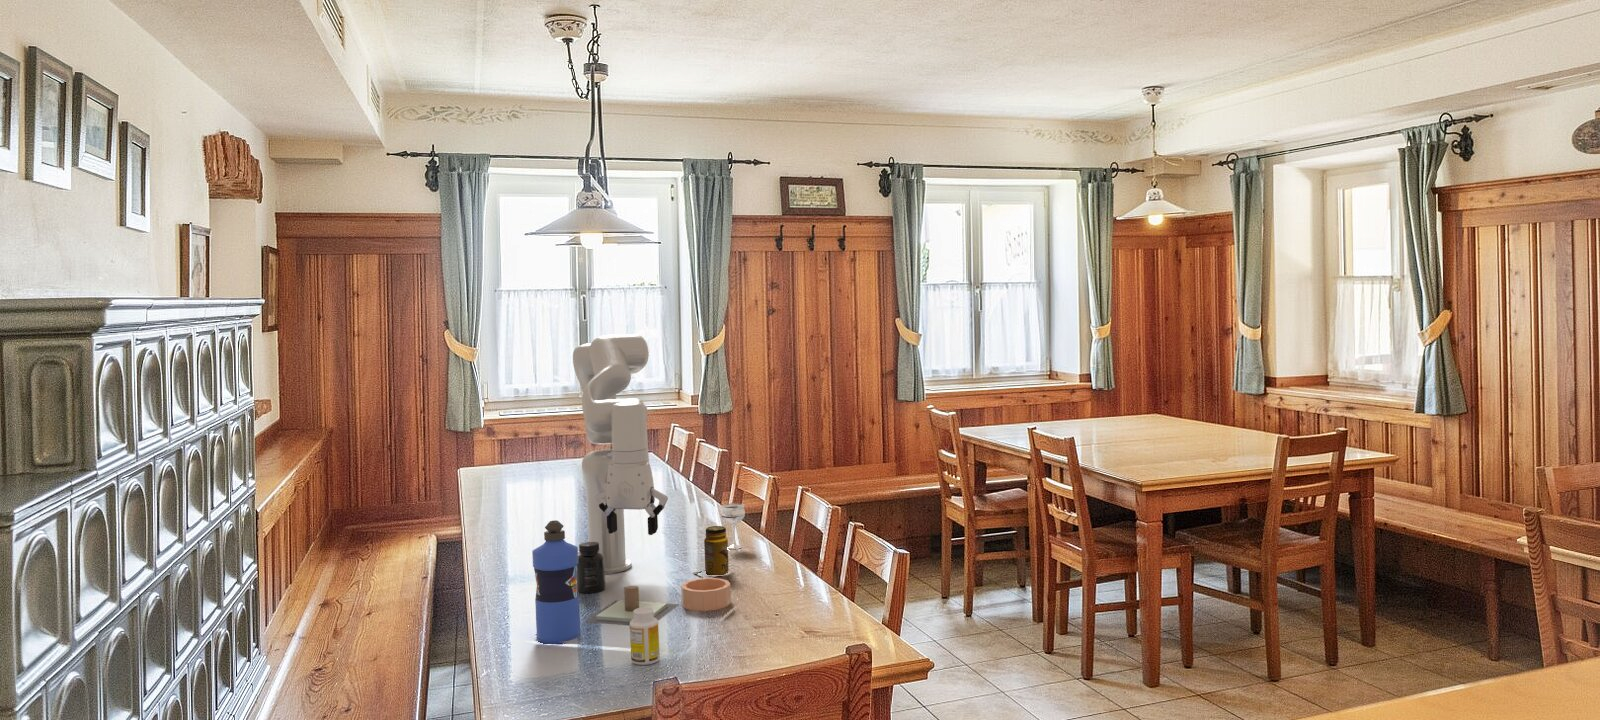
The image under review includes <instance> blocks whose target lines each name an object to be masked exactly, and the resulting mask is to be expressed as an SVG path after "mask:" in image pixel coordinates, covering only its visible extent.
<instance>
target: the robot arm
mask: <svg viewBox="0 0 1600 720" xmlns="http://www.w3.org/2000/svg"><path fill="white" fill-rule="evenodd" d="M649 356H650V355H649V347H648V344H647V341H646V340H645V338H644V337H643V336H642V335H641V334H634V333H633V334H631V333H629V334H607V335H606V334H605V335H600V336H598V337H596V338H594V339H593V340H592V341H591V342H590V343H583V344H580V345H578V346H577V347H575V348H574V350H573V352H572V364H573V369H574V373H575V376H576V377H577V380H578V383H579V385H580V388H581V390H582V397H581V409H582V413H583V414H582V415H583V419H584V425H585V426H584V427H585V435H586V439H587V441H589V443H591V444H593V445H612V446H611V447H612V448H609V449H608V448H606V449H598V450H597V449H596V450H593V451H590V452H588V453H586V454H585V455H584V456H583V458H582V460H581V461H582V462H581V471H582V476H583V481H584V486H585V487H584V489H585V497H586V498H585V499H586V515H587V539H588V540H587V542H598V543H599V549H600V550H599V553H601V554H602V555H603V557H604V570H605V575H606V574H616V573H621V572H624V571H627V570H629V569H630V568H632V566H633V564H632V560H630V559H628V558H627V557H626V535H625V534H626V533H625V511H624V510H645V511H646V513H647V515H649V516H648V517H647V534H648V536H652V535H654V534H656V533H657V532H658V529H659V524H658V523H659V518H658V516H659V514H660V513H661V512H662V511H663V510H664V509H665V508H666V507H665V506H666V504H667V503H668V502H667V501H668V500H669V497H668V496H667V495H666V494H664V493H662V492H660V491H658V490H657V489H655V485H654V484H655V483H654V478H653V477H654V476H653V472H652V467H651V464H650V456H649V455H650V454H649V442H648V427H647V422H648V415H649V414H648V407H647V405H646V404H645V403H644V401H643V400H642V399H640V398H636V397H634V398H631V397H630V398H617V395H618V394H620V393H621V392H624V391H625V390H626V389H627V387H628V386H629V384H630V383H631V380H632V374H637V373H640V372H641V371H642V370H643V369H644V368H645V367H646V365H647V364H648V361H649ZM655 499H657V500H658V505H657V506H656V505H655V501H656V500H655ZM578 555H580V553H579V550H578Z"/></svg>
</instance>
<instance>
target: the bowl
mask: <svg viewBox="0 0 1600 720" xmlns="http://www.w3.org/2000/svg"><path fill="white" fill-rule="evenodd" d="M680 589H681V590H680V591H681V592H680V593H681V605H682V608H684V609H687V610H689V611H694V612H695V611H697V612H708V611H717V610H721V609H723V608H726V607H729V605H730V604H732V596H731V595H732V594H731V593H732V591H731V589H732V588H731V583H730V582H729V580H728V579H723V578H722V577H716V578H702V577H700V578H694V579H691V580H685V581H684V583H682V584H681V585H680Z"/></svg>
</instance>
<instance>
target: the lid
mask: <svg viewBox="0 0 1600 720" xmlns="http://www.w3.org/2000/svg"><path fill="white" fill-rule="evenodd" d="M639 592H640V589H639V586H638V585H626V586H625V587H623V593H624V597H623V598H624V599H619V600H616V601H617V602H616V603H614V604H613V605H611V606H610V607H608V608H607V609H605V610H604V611H602V612H601V613H599V614H598V615H596V620H609V621H624V622H630V621H631V620H632V619H633V611H634V610H635V609H637V608H642V607H649V608H652V609H653V610H654V616H656V615H657V614H658V613H660V612H661V611H662V610H663V609H665V608H666V607H667V604H668V602H658V601H657V602H656V601H641V600H640V593H639Z"/></svg>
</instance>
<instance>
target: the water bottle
mask: <svg viewBox="0 0 1600 720" xmlns="http://www.w3.org/2000/svg"><path fill="white" fill-rule="evenodd" d="M563 528H564V524H563V523H561V522H560V521H559V520H550V521H549V522H548V523H547V524H546V525H545V526H544V529H545V530H546V531H544V532H543V535H544V541H545V542H544V543H543V544H542V545H540V546H538V547H536V548H535V549H533V550H532V566H533V570H534V577H535V582H536V590H535V592H536V593H535V598H534V599H535V600H534V601H535V604H534V605H535V622H536V623H535V625H536V626H535V627H536V629H535V630H536V639H537V641H538V642H540V643H543V644H542V645H544V644H561V645H564V644H563V643H564V642H567V641H570V640H571V641H572V640H575V639H576V638H578V637H579V636H581V633H582V631H581V614H580V613H581V609H580V595H579V594H580V593H578V588H577V580H576V578H577V565H578V551H579V546H576V545H574V544H572V543H569V542H567V541H566V540H565V539H566V532H565V530H564V529H563ZM538 642H537V643H538ZM540 643H539V644H540Z"/></svg>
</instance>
